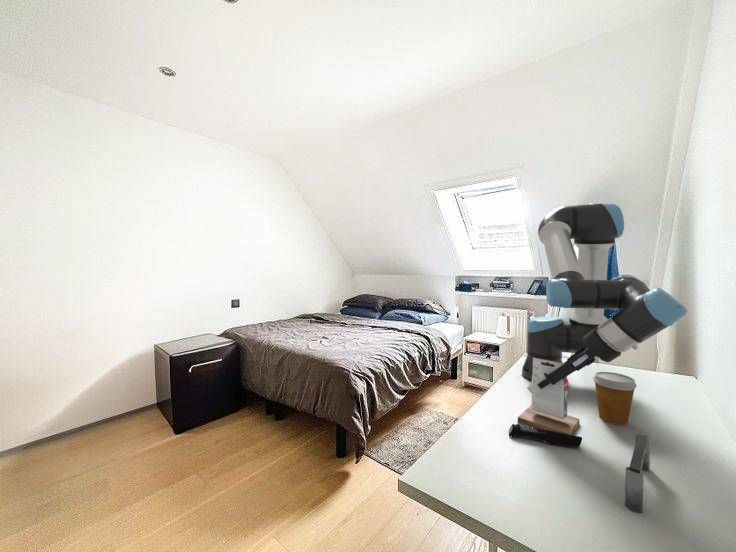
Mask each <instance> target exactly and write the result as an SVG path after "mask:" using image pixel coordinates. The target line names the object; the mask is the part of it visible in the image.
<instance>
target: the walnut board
mask: <svg viewBox="0 0 736 552" xmlns="http://www.w3.org/2000/svg"><path fill="white" fill-rule="evenodd" d="M531 407H532V404H531V405H529V406H528V407H527V408H526V409H525V410H524V411H523V412H521V413H520V415H518V417H517V424H520V425H522V426H526V427H533V428H538V429H543V430H549V431H554V432H559V433H564V434H569V435H574V433H575V431H576V430H577V428H578V427H579V425H580V418H578V417H575V416H572V415H568V414H567V416H566V417H565V418H564V419H561V418H557V417H554V416H551V415H547V414H544V413H541V412H538V411H535V410H532V408H531Z"/></svg>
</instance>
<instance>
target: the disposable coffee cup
mask: <svg viewBox="0 0 736 552" xmlns="http://www.w3.org/2000/svg"><path fill="white" fill-rule="evenodd" d="M592 379H593V381H594V385H595V393H596V400H597V407H598V416H599V418H600V419H601V420H603V421H605V422H607V423H610V424H614V425H617V426H618V425H619V426H620V425H621V426H623V425H624V426H625V425H628V424H629V419H630V414H631V409H632V404H633V399H634V398H633V397H634V392H635V390H636V388H637V386H638V385H637V384H636V381H635V379H634V378H633V377H631V376H628V375H625V374H622V373H618V372H612V371H597V372H595V373H594V376H592Z"/></svg>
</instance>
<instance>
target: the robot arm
mask: <svg viewBox="0 0 736 552" xmlns="http://www.w3.org/2000/svg"><path fill="white" fill-rule="evenodd" d="M537 230H538V231H537V234H538V235H537V236H538V239H539V241H540V242H541V244H543V246H544V251H545V254H546V255H545V256H546V258H547V263H548V267H549V271H550V276H551V279H549V280H548V281H547V283H546V289H545V290H546V291H545V296H546V302H547V305H549V306H550V307H556V308H563V309H574V312H573V313H572V314H570V315H569V318H568V319H569V320H568V321H564V319H563V318H562V317H560V316H552V315H551V316H549V315H548V316H538V317H533V318H530V319H529V320H528V322H527V329H526V332H527V345H526V346H527V347H526V348H527V349H526V351H527V352H526V353H527V354H526V357H525V360H524V362H523V365H522V368H521V375H522V376H523V377H524V378H525V377H526V378H525V379H527V380H529V379H530V380H529V381H532V375H533V358H539V359H544V360H549V361H554V362H559V363H564V364H563V365H562V366H560V367H559V368H557V369H556V370H554V371H553V372H551V373H550V374H547V373H546V372H545V373H544V375H545V376H544V377H542V378H541V379H539V380H538V381H536V382H535V383H533V384H532V383H531V384H530V385H528V386H527V387H526V389H527V390H528V392H529V393H530V394H531V396H532V395H533V396H534V397H535V396H536V395H538V394H539V393H541V392H542V391H544V390H546V389H547V388H549V387H550V386H552V385H555V384H556V383H557V382H559V381H560V380H562V379H563V378H564V379H568V376H569V375H571V374H572V373H574V372H576V371H580V370H582V369H584V368H585V367H587V366H590V365H592V364H593V363H594V362H595V361H596V357H597V358H599V360H601V361H603V362H605V363H610V362H612V361H613V360H615V359H617V358H618V357H621V355H622V353H626V352H628V351H629V350H630V351H631V349H633V350H638V349H639V346H638V345H639V344H641V343H643V342H645V341H646V340H648V339H650V338H652V337H653V336H654V335H656V334H659V333H660V332H661V331H663V330H665V329H667V328H668V327H671V326H673V325H674V324H675V323H676V322H677V321H679V320H680V319H682V318H683V317H685V316H686V315H687V313H688V310H687V308H686V306H685V305H683V304H682V303H681V302H680V301H679V300H677V298H675V297H674V296H672V295H671V294H669V292H667V291H666V290H664V289H662V288H660V287H654V288H653V289H650V288H649V287H648V286H647V284H646V283H645V282H644V281H642V280H640V279H638V277H636V276H634V275H630V274H618V275H616V276H614V277H612V278H610V279H608V278H607V277H608V275H607V274H608V262H609V252H610V251H609V250H610V248H611V247H612V246H614V245H615V244H616V239H619V238H621V237H622V236H623V234H624V231H625V219H624V214H623V211H622V209H621V207H619V205H617V204H615V203H601V202H600V203H593V204H592V203H591V204H578V205H563V206H560V207H556V208H554V209H553V210H552V211H550V212H549V213H547V214H545V216H544V217H543V219H542V220H541V221H540V223H539V226H538V229H537ZM572 240H573V243H572ZM574 246H576V247H577V249H578V250H577V251H578V255H577V253H576V250H575V247H574ZM577 256H578V257H577ZM605 310H612V311H613V310H615V311H617V310H618V311H619V312H617V313H616V314H614V315H613V316H611V317H610V318H609V317H606V316H605V315H604V314H605ZM563 353H566V354H568V353H569V354H572V355H571V356H569V357H568V358H567V359H566V360H565V362H563ZM541 364H542V365H546V366H551V367H555V365H553V364H549V363H548V362H546V363H544V362H541Z"/></svg>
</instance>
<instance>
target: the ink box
mask: <svg viewBox="0 0 736 552" xmlns="http://www.w3.org/2000/svg"><path fill="white" fill-rule="evenodd" d="M541 362H544V363H546V362H548V363H549V364H553V365H555V367H551V366H546V365H542V364H541ZM563 364H564V362H563V363H559V362H554V361H549V360H544V359H539V358H533V375H532V380H531V385H532V384H533V383H535V382H536V381H538V380H539V379H541V378H542V377H544V376H545V375H544V373H545V372H546V373H547V374H550V373H551V372H553V371H554V370H556V369H557V368H559V367H560V366H562V365H563ZM568 381H569V380H568V378H567V379H564V378H563V379H562V380H560V381H559V382H557V383H556V384H555V385H552V386H550V387H549V388H547V389H546V390H544V391H542V392H541V393H539V394H538V395H536V396H535V397H534V396H533V395H532V394H531V405H532V407H531V408H532V410H535V411H538V412H541V413H544V414H547V415H551V416H554V417H557V418H561V419H564V418H565V417H566V416H567V415H568V391H569V390H568Z"/></svg>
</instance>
